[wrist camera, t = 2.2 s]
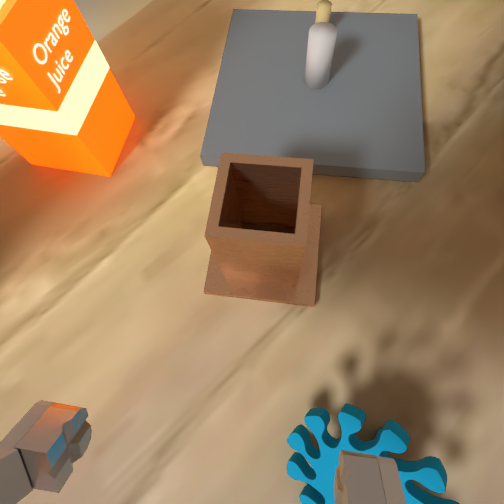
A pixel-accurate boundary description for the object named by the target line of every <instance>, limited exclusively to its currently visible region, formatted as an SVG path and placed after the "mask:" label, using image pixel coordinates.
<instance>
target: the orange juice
mask: <svg viewBox="0 0 504 504" xmlns="http://www.w3.org/2000/svg"><path fill="white" fill-rule="evenodd" d="M134 119H135V115H134V113H133V111H132V110H131V108H130V106H129V104H128V102H127V100H126V98H125V96H124V94H123V93H122V91H121V89H120V87H119V85H118V83H117V81H116V79H115V78H114V76H113V74H112V72H111V70H110V67H109V65H108V63H107V61H106V59H105V57H104V55H103V54H102V52H101V50H100V48H99V46H98V44H97V42H96V41H95V40H94V38H93V37H92V34H91V32H90V30H89V29H88V27H87V25H86V23H85V21H84V19H83V17H82V15H81V14H80V12H79V10H78V8H77V6H76V4H75V2H74V1H73V0H0V137H2V138H3V139H4V140H5V141H6V142H7V143H8V144H9V145H11V146H12V147H13V148H14V149H15V150H16V151H17V152H18V153H20V154H21V155H22V156H23V157H24V158H25V159H26V160H27V161H29V162H30V163H31V164H33V165H40V166H46V167H52V168H58V169H65V170H71V171H77V172H84V173H90V174H96V175H103V176H109V177H110V176H111V174H112V172H113V169H114V167H115V164H116V162H117V160H118V157H119V155H120V153H121V150H122V148H123V145H124V143H125V141H126V138H127V136H128V133H129V131H130V129H131V126H132V124H133V121H134Z"/></svg>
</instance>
